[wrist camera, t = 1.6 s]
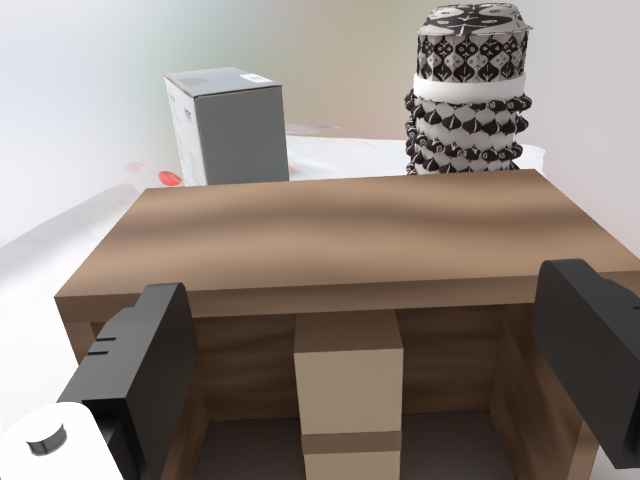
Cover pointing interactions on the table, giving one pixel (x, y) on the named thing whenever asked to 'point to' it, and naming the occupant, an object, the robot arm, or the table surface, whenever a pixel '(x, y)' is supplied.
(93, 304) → the cubby
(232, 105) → the hard drive box
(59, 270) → the table surface
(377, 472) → the block
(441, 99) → the decorative candle
